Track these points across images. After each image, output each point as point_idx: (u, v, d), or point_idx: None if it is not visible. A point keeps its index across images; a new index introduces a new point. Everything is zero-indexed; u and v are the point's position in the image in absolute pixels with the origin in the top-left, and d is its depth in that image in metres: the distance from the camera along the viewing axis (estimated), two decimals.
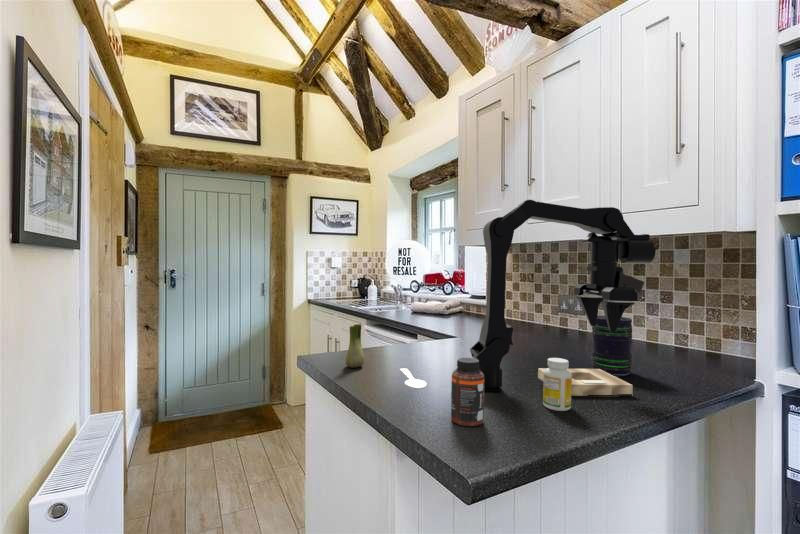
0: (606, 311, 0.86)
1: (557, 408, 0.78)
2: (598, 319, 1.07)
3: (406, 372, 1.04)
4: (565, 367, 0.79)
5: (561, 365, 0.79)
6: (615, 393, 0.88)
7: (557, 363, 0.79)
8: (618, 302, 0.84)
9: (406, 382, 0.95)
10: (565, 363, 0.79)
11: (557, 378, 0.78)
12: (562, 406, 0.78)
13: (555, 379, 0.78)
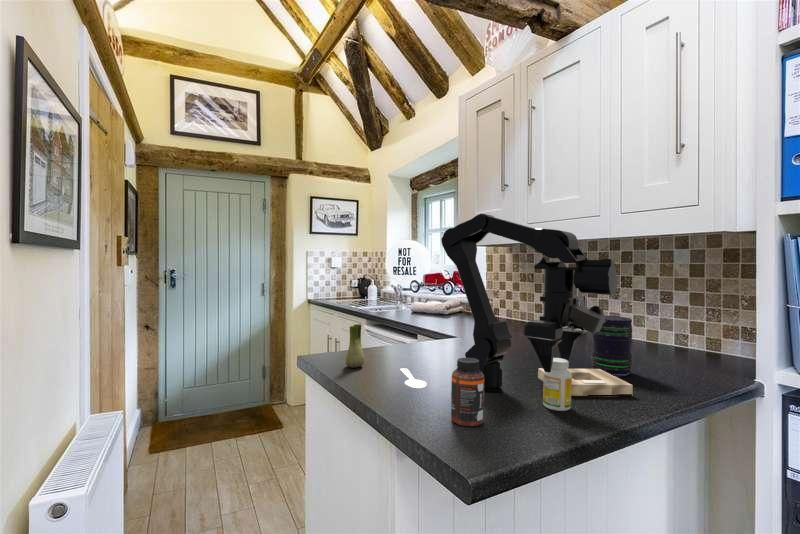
0: None
1: (557, 408, 0.78)
2: None
3: (406, 372, 1.04)
4: (565, 367, 0.79)
5: (561, 365, 0.79)
6: (615, 393, 0.88)
7: (557, 363, 0.79)
8: (537, 338, 0.75)
9: (406, 382, 0.95)
10: (565, 363, 0.79)
11: (557, 378, 0.78)
12: (562, 406, 0.78)
13: (555, 379, 0.78)
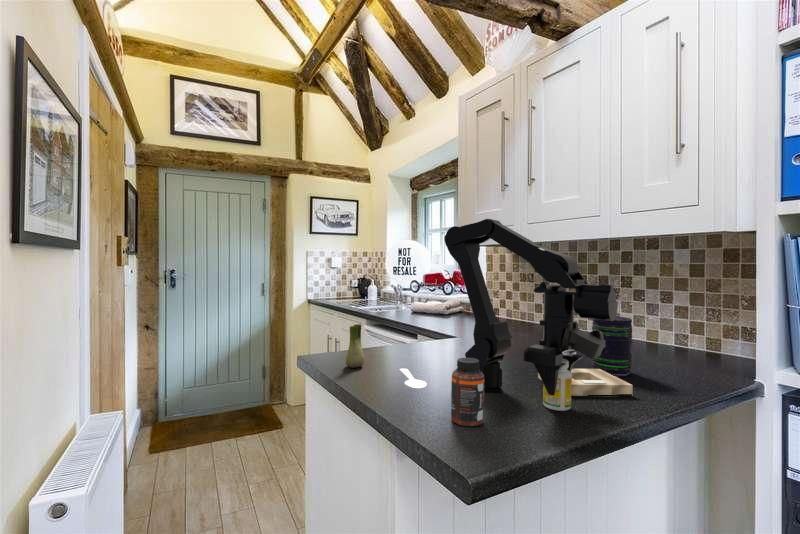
0: None
1: (557, 408, 0.78)
2: None
3: (406, 372, 1.04)
4: (565, 367, 0.79)
5: None
6: (615, 393, 0.88)
7: None
8: None
9: (406, 382, 0.95)
10: None
11: (557, 378, 0.78)
12: (562, 406, 0.78)
13: None
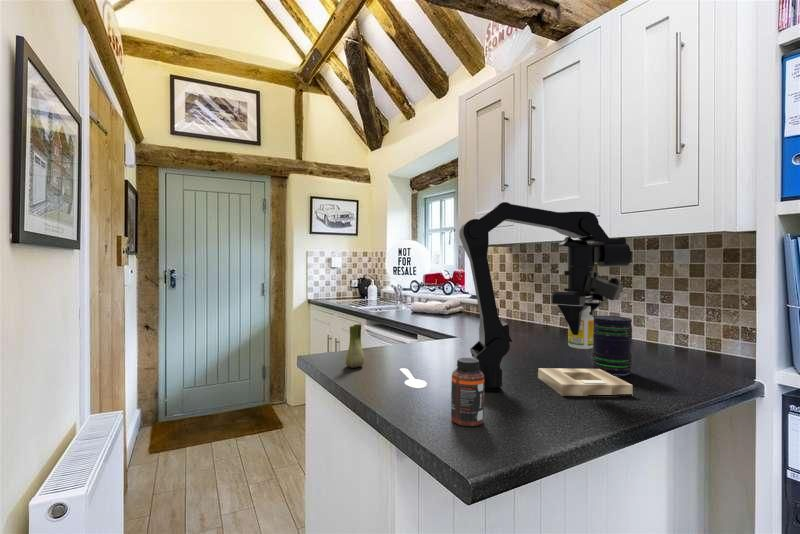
0: None
1: (581, 346, 0.89)
2: (598, 319, 1.07)
3: (406, 372, 1.04)
4: (588, 311, 0.90)
5: None
6: (615, 393, 0.88)
7: None
8: (566, 305, 0.88)
9: (406, 382, 0.95)
10: (588, 307, 0.90)
11: None
12: (585, 344, 0.89)
13: None
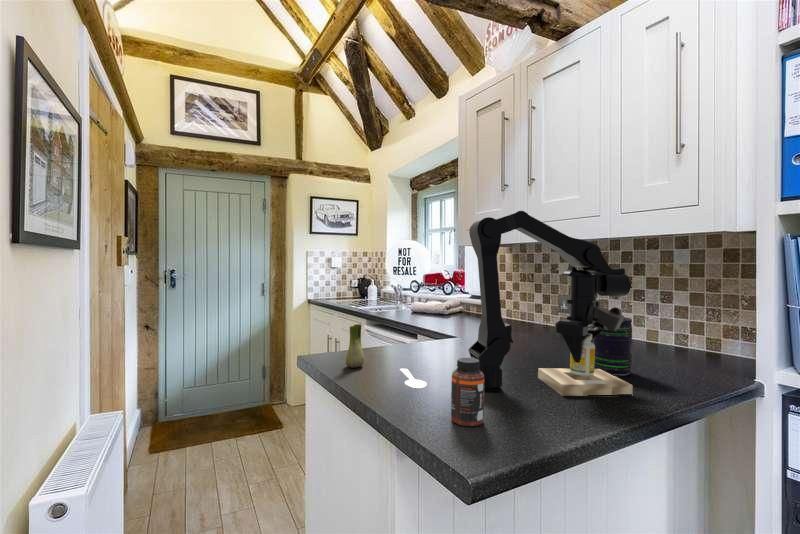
0: None
1: (583, 373, 0.92)
2: None
3: (406, 372, 1.04)
4: (589, 339, 0.93)
5: None
6: (615, 393, 0.88)
7: None
8: (569, 334, 0.91)
9: (406, 382, 0.95)
10: (589, 336, 0.93)
11: None
12: (587, 372, 0.92)
13: None
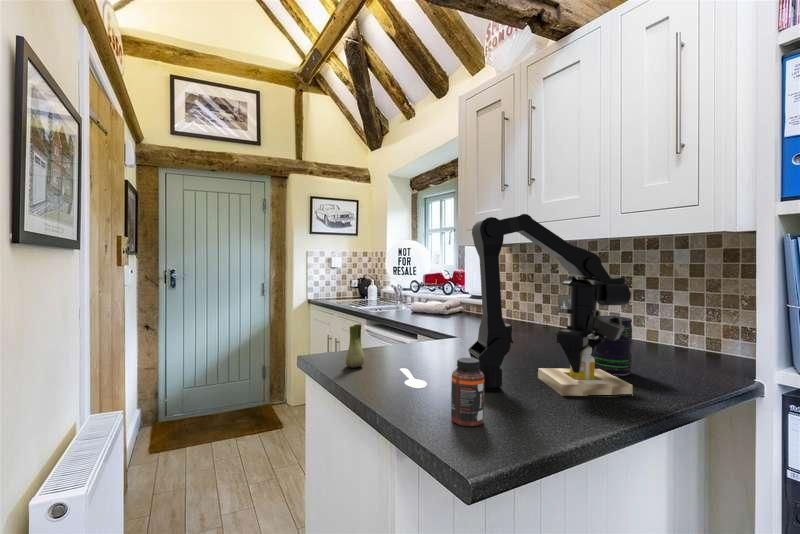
0: None
1: None
2: None
3: (406, 372, 1.04)
4: (589, 352, 0.93)
5: (586, 351, 0.93)
6: (615, 393, 0.88)
7: None
8: (568, 344, 0.90)
9: (406, 382, 0.95)
10: (589, 349, 0.93)
11: (582, 362, 0.92)
12: None
13: (581, 362, 0.92)
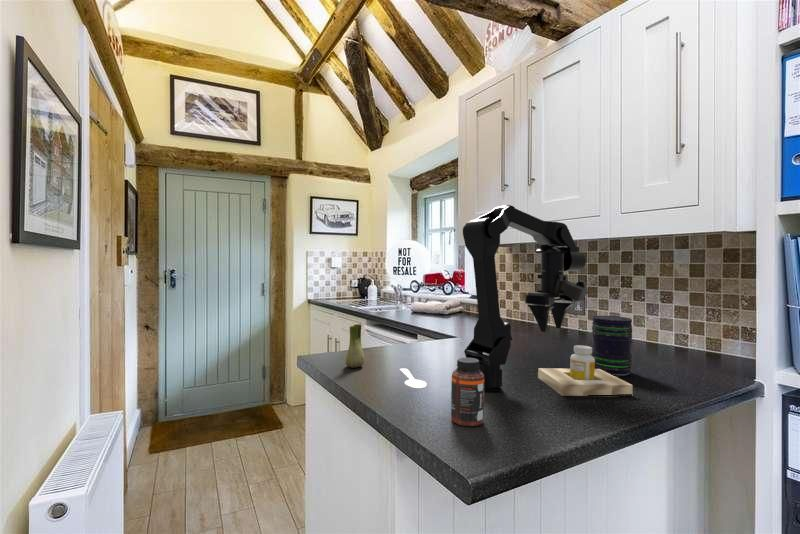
0: None
1: None
2: (598, 319, 1.07)
3: (406, 372, 1.04)
4: (589, 352, 0.93)
5: (586, 351, 0.93)
6: (615, 393, 0.88)
7: (582, 349, 0.93)
8: (535, 305, 0.99)
9: (406, 382, 0.95)
10: (589, 349, 0.93)
11: (582, 362, 0.92)
12: None
13: (581, 362, 0.92)
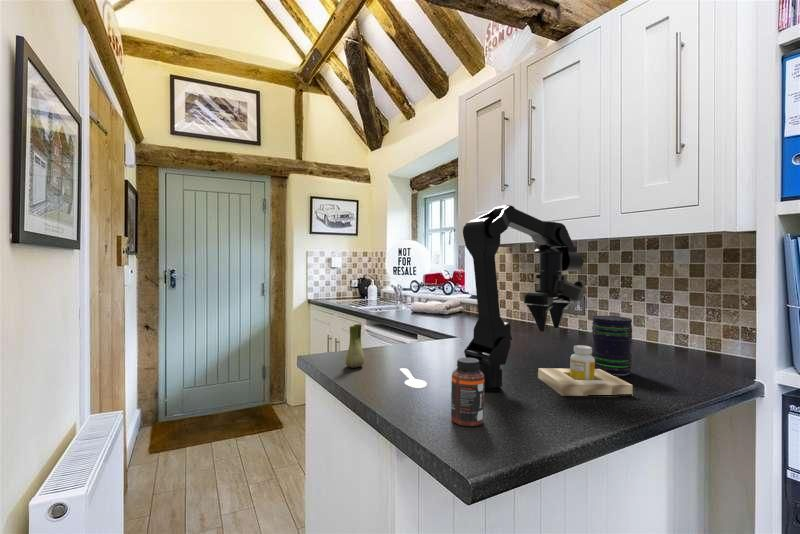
0: None
1: None
2: (598, 319, 1.07)
3: (406, 372, 1.04)
4: (589, 352, 0.93)
5: (586, 351, 0.93)
6: (615, 393, 0.88)
7: (582, 349, 0.93)
8: (534, 305, 0.99)
9: (406, 382, 0.95)
10: (589, 349, 0.93)
11: (582, 362, 0.92)
12: None
13: (581, 362, 0.92)
